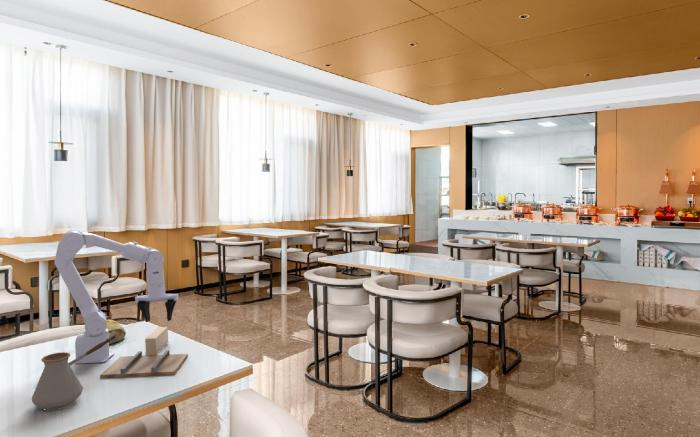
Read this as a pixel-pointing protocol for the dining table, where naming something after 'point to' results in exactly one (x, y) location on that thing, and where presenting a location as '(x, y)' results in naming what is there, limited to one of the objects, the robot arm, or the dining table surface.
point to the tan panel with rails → (145, 365)
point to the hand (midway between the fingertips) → (158, 320)
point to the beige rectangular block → (156, 340)
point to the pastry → (115, 330)
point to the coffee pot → (60, 380)
